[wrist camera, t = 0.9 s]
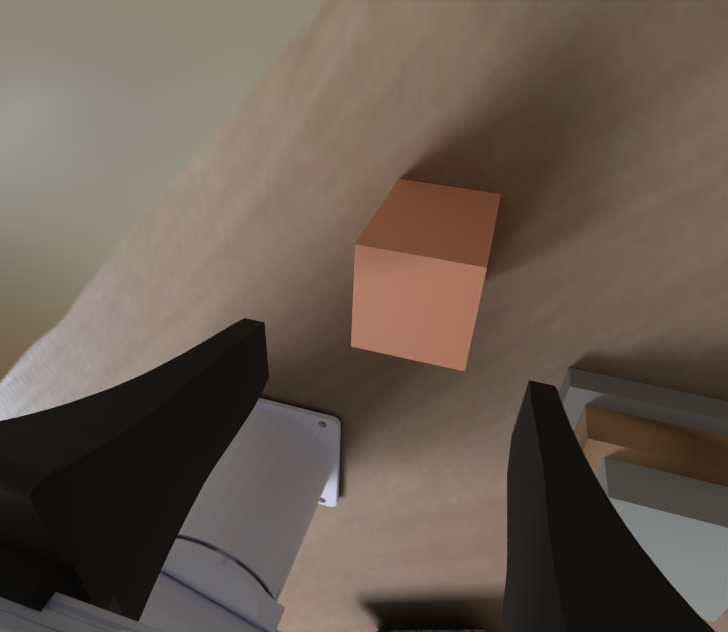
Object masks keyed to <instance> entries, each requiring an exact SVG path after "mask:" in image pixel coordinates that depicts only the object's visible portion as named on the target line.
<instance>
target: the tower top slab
mask: <svg viewBox="0 0 728 632" xmlns="http://www.w3.org/2000/svg"><path fill="white" fill-rule="evenodd" d="M596 477H597V479H598V481H599V483H600V485H601V486H602V488H603V490H604V491H605V493H606V495H607V497H608V498H609V500H610V501H611V503H612V505H613V506H614V508H615V509H616V511H617V512H618V514H619V515H620V517H621V518H622V520H623V521H624V523H625V525H626V526H627V527H628V529H629V530H630V532H631V533H632V534H633V536H634V537H635V539H636V540H637V541H638V543H639V544H640V546H641V547H642V548H643V549H644V551H645V552H646V553H647V555H648V556H649V557H650V558H651V560H652V561H653V562H654V563H655V565H656V566H657V567H658V568H659V570H660V571H661V572H662V573H663V575H664V576H665V577H666V578H667V580H668V581H669V582H670V583H671V584H672V586H673V587H674V588H675V589H676V590H677V591H678V592H679V593H680V595H681V596H682V597H683V598H684V599H685V600H686V601H687V602H688V604H689V605H690V606H691V607H692V608H693V609H694V610H695V611H696V612H697V614H698V615H699V616H700V617H701V618H702V619H704V620H708V621H711V622H715V620H716V619H717V618H718V617H719V616H720V615H721V614H722V613H723V612H724V611H725V610H726V609H727V608H728V487H726V486H722V485H718V484H714V483H710V482H705V481H701V480H697V479H693V478H689V477H685V476H681V475H677V474H672V473H668V472H664V471H660V470H656V469H652V468H648V467H643V466H639V465H635V464H631V463H627V462H622V461H618V460H614V459H610V458H606V457H604V459H603V461H602V463H601V465H600V467H599V469H598V471H597V473H596Z"/></svg>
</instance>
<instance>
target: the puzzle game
mask: <svg viewBox="0 0 728 632" xmlns="http://www.w3.org/2000/svg"><path fill="white" fill-rule="evenodd" d="M377 632H485V630H379V631H377Z"/></svg>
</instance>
